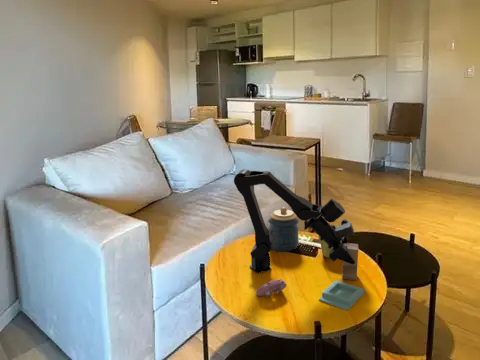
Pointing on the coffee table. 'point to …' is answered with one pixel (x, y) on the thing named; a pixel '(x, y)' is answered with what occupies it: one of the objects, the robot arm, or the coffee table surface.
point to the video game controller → (271, 288)
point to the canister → (284, 229)
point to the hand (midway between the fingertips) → (354, 260)
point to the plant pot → (324, 248)
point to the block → (350, 269)
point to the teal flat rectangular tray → (341, 295)
